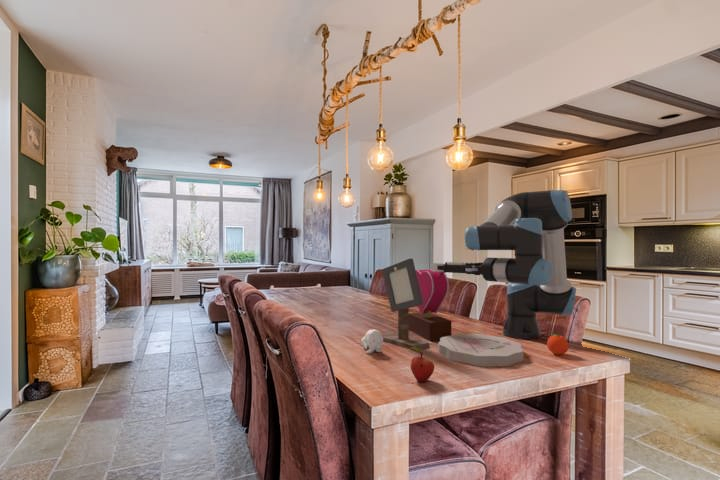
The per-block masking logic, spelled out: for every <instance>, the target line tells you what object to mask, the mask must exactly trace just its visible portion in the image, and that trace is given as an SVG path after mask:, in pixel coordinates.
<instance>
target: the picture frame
mask: <svg viewBox="0 0 720 480" xmlns="http://www.w3.org/2000/svg"><path fill="white" fill-rule="evenodd" d="M416 270H417V269H416V266H415V262H414V258H408V259H404V260H402V261H400V262H398V263H394V264H392V265H390V266H386V267H385V268H382V274H383V279H384V283H385V287H386V292H387V296H388V301H389V302H388V303H389V306H390V310H391V313H395V312H398V311H399V310H403V309H407V308H409V309H411V308H414V307H418V306H419V305H423V304H424V303H423V299H422V295H421V291H420V287H419V283H418V278H417V274H416Z"/></svg>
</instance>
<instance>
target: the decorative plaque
mask: <svg viewBox="0 0 720 480" xmlns="http://www.w3.org/2000/svg"><path fill="white" fill-rule="evenodd" d="M437 345H438V347H437V349H438V350H437V351H438V353H439V354H440V355H442V356H444V357H447V358H448V359H449V360H450V361H452V362H459V363H465V364H469V365H473V366H477V367H489V366H492V367H495V366H496V367H508V366H511V365H513V364H516V363H521V362H523V361H524V349H523V348H522V344H521V343H519V342H516V341H512V340H510V339H508V338H507V337H502V336H494V335H488V334H485V333H483V334H482V333H455V334H451V336H446V337H441V338H440V340H439V342H438V343H437Z"/></svg>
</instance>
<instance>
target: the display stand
mask: <svg viewBox="0 0 720 480" xmlns="http://www.w3.org/2000/svg"><path fill="white" fill-rule="evenodd" d="M409 309H410V308H407V309H403V310H399V311H397V313H398V314H397V316H398V317H397V318H398V319H397V325H398V326H397V328H398V329H397V330H398V331H397V333H393V332H385V333H381V335H382V337H383V342H385V343H388V344H392V345H395V346H399V347H403V348H406V349H409V348H411V349H410V350H413V351H416V350H415V349H412V347H416V348H418V349H419V350H422V349H426V348H429V347H430V342H429V341H428V342H427V341H424V340H420V339H416V338H413V337H410V335H409V333H410V330H409V312H410V310H409Z"/></svg>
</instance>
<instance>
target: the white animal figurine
mask: <svg viewBox="0 0 720 480" xmlns="http://www.w3.org/2000/svg"><path fill="white" fill-rule="evenodd" d="M381 334H382V332H380V331H379V330H377V329H368V331H366V333H365V335H364V336H363V337H362V338H361V340H360V341H361V347H362V348H364V349H365V350H366V351H365V354H367V355H369V354H372V353H373V352H374V351H375V352H376V353H381V352H382V350H381V348H382V347H383V342H384V341H383V337H382V335H381ZM368 347H369V349H368Z"/></svg>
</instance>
